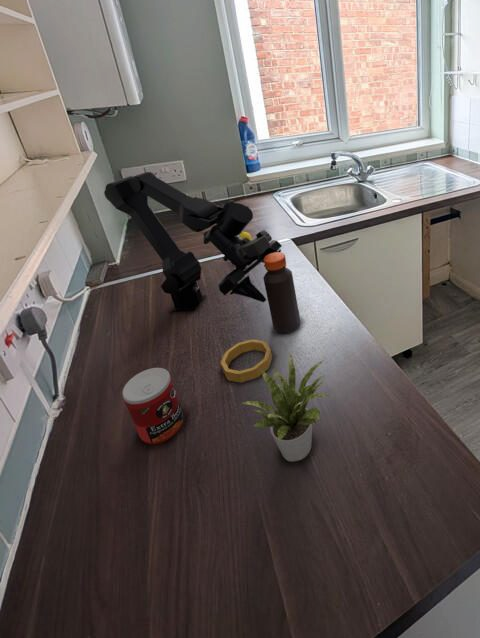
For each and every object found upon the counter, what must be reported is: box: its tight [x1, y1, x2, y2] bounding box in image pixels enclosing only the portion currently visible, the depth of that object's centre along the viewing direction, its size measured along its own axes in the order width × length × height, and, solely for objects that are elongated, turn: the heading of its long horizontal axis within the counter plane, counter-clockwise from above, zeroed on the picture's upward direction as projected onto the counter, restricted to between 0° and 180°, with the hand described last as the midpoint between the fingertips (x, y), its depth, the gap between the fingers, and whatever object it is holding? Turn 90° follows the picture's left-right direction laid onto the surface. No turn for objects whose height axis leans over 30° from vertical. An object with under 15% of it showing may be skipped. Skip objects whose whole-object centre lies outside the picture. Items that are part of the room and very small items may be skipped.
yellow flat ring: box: [220, 339, 273, 384], centre depth 90 cm, size 10×11×2 cm
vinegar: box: [262, 251, 301, 335], centre depth 98 cm, size 7×7×20 cm
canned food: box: [122, 367, 184, 445], centre depth 74 cm, size 8×8×11 cm
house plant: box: [240, 353, 330, 463], centre depth 68 cm, size 14×14×16 cm
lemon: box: [239, 230, 253, 241], centre depth 139 cm, size 6×6×8 cm
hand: (276, 290), depth 99 cm, fingers open, 9 cm apart
